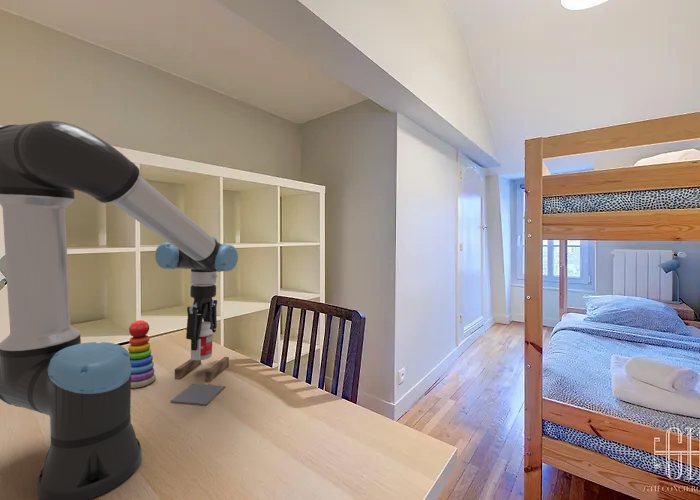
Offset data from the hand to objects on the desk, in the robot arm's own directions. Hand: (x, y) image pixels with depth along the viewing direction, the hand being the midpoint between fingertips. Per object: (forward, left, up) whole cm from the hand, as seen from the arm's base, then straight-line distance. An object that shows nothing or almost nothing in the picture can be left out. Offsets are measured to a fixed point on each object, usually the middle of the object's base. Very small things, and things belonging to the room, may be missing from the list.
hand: (201, 355), depth 104 cm
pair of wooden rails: (+1, 0, -6) cm, 6 cm away
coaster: (-13, -7, -6) cm, 16 cm away
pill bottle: (0, 0, -1) cm, 1 cm away
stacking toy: (-9, +14, -6) cm, 18 cm away
